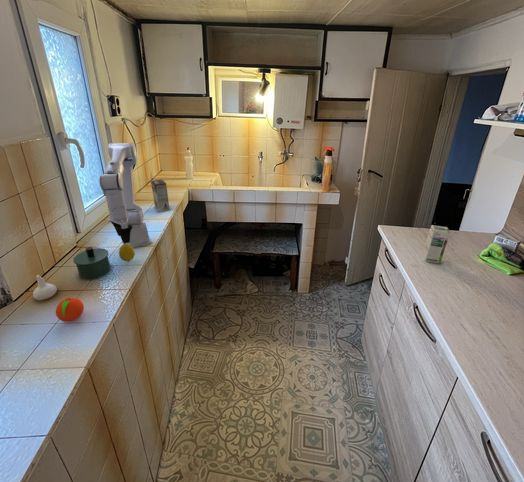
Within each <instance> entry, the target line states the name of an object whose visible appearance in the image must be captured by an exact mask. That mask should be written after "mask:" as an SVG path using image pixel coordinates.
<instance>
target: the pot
mask: <svg viewBox="0 0 524 482" xmlns="http://www.w3.org/2000/svg"><path fill="white" fill-rule="evenodd" d="M75 265H76V266H75V267H76V269H77V272H78V275H79V277H80V279H82V280H87V281H91V280H96V279H100V278H102V277H105V276H106V275H107V274H108V273H110V271H111V264H110V260H109V255H108V256H107V257H106V258H105V259H104V260H102V261H100V262H98V263H95V264H91V265H84V266H82V265H77V264H75Z"/></svg>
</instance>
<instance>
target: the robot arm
mask: <svg viewBox="0 0 524 482" xmlns="http://www.w3.org/2000/svg"><path fill="white" fill-rule="evenodd" d="M107 152H108V155H109V158H110V159H111V160H110V161H108V163H107V164H106V166H105V167H106V168H105V171H104V173H102V174H101V175H100V176H99V186H100V189H101V191H102V195H103V196H104V197H105V200H106V204H107V209H108V214H109V217H108V218H107V219H106V220H107V222H108V223H111V225H113V228H114V230H115V232H116V234H117V236H118V237H120V239H121V241H122V243H123V245H124V244H129V245H131V246H132V247H133V249H134V248H139V247H142V246H147V245H150V244H151V242H150V236H149V231H148V227H147V224H146V222H144V220H145V219H144V218H145V217H144V212H143V208H142V207H141V206H140V205H139V204H138V203H136V199H135V188H134V184H135V183H134V172H133V171H134V166H135V165H137V162H138V156H137V155H138V153H137V147H136V145H135V143H134V142H123V143H122V142H121V143H117V142H115V143H111V142H110V143H108V144H107Z"/></svg>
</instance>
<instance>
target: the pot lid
mask: <svg viewBox="0 0 524 482" xmlns="http://www.w3.org/2000/svg"><path fill="white" fill-rule="evenodd" d="M107 256H108V257H109V251H108V250H107V249H105V248H102V247H95V248H93V246H88V247H85V250H83V251H81V252H79V253H77V254H76V255H74V257H73V263H74V264H75V265H76V264H77V265H82V266H84V265H91V264H95V263H98V262H100V261H102V260H104V259H105V258H106V257H107Z"/></svg>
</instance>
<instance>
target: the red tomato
mask: <svg viewBox="0 0 524 482" xmlns="http://www.w3.org/2000/svg"><path fill="white" fill-rule="evenodd" d="M84 309H85V306H84V303H83V301H82V300H81V299H80V298H77V297H73V296H72V297H67V298H64V299H62V300H61V301H59V303H58V304H57V305H56V307H55V316H56V318H57V319H58V320H60V321H62V322H66V323H69V322H74V321H76V320H78V319H79V318H80V317H81V316H82V315H83V313H84Z"/></svg>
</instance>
